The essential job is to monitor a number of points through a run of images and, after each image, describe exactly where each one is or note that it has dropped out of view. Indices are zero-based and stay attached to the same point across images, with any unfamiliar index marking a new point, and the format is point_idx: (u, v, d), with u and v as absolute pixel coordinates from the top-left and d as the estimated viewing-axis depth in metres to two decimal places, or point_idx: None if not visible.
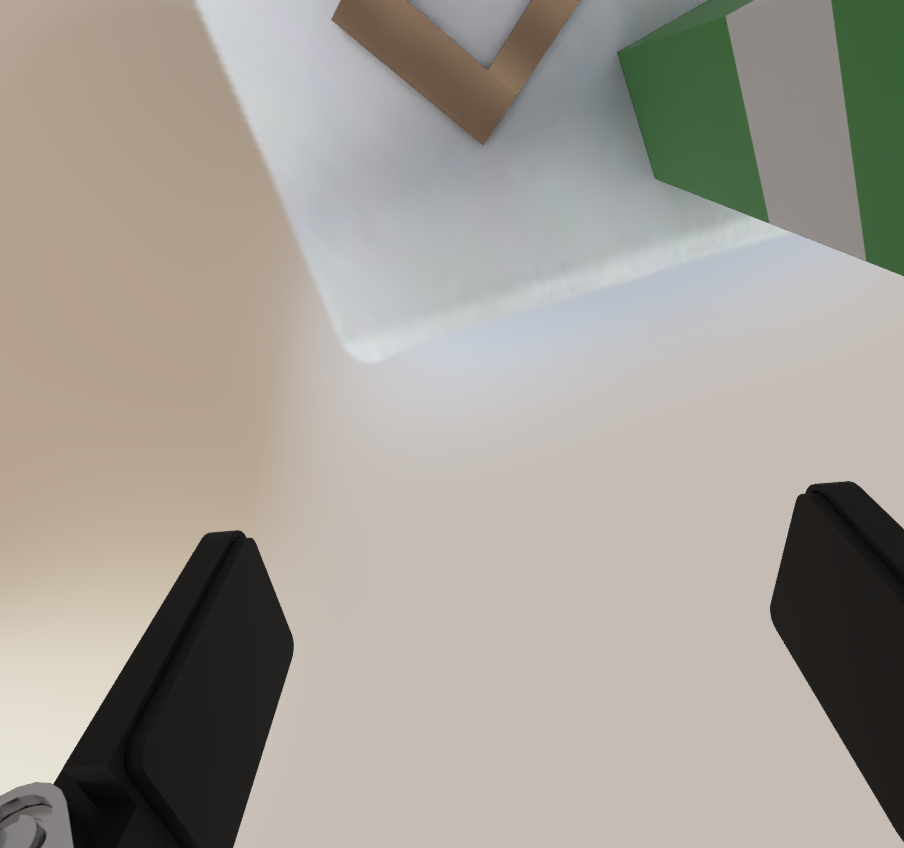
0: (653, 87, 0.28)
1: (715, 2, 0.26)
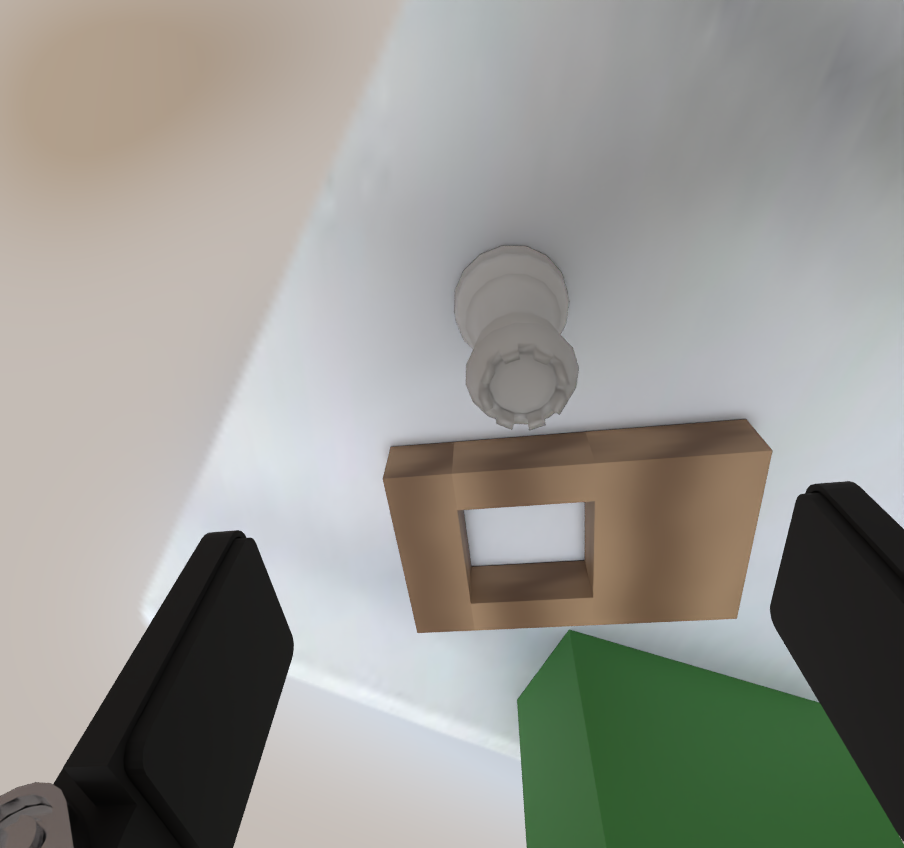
0: (565, 733, 0.29)
1: (646, 731, 0.28)
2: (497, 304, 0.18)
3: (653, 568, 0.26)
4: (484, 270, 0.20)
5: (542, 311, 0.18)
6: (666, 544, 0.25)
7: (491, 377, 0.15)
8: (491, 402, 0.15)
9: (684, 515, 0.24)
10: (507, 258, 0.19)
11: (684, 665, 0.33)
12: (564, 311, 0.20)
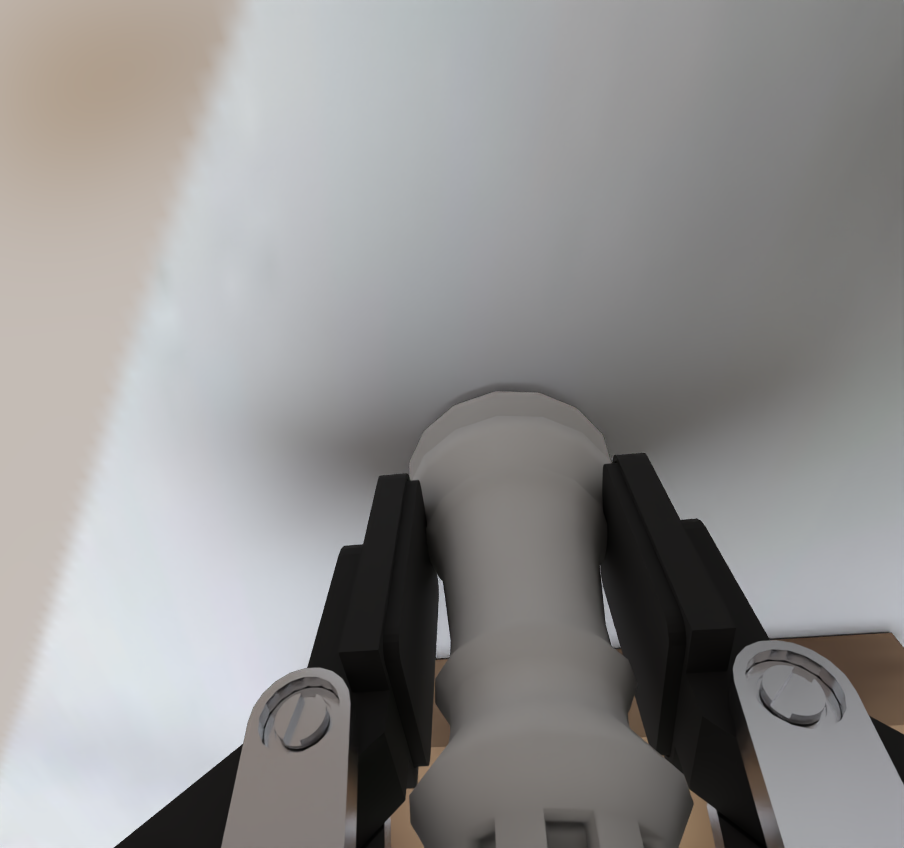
0: None
1: None
2: (485, 554, 0.09)
3: None
4: (460, 451, 0.10)
5: (581, 571, 0.08)
6: None
7: None
8: None
9: None
10: (504, 429, 0.10)
11: None
12: None
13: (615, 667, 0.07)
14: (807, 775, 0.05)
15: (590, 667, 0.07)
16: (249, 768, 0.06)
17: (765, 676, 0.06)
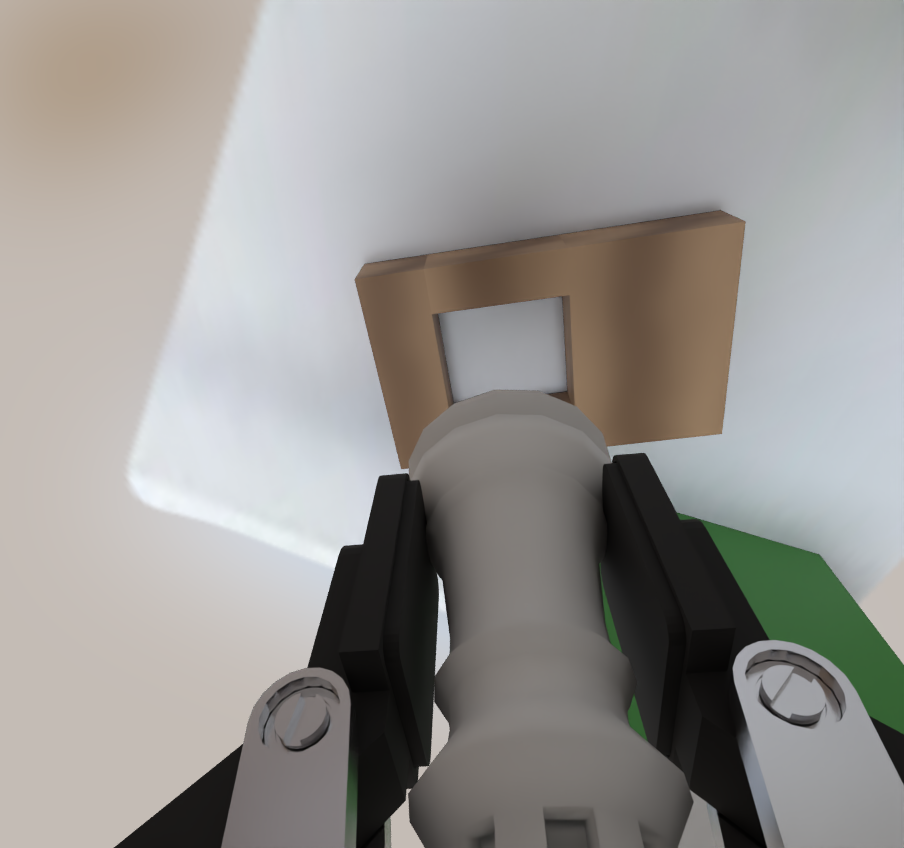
0: None
1: None
2: (484, 552, 0.09)
3: (633, 375, 0.25)
4: (460, 449, 0.10)
5: (582, 570, 0.08)
6: (645, 344, 0.25)
7: None
8: None
9: (661, 307, 0.24)
10: (504, 427, 0.10)
11: None
12: None
13: (615, 665, 0.07)
14: (807, 775, 0.05)
15: (590, 665, 0.07)
16: (249, 768, 0.06)
17: (765, 676, 0.06)
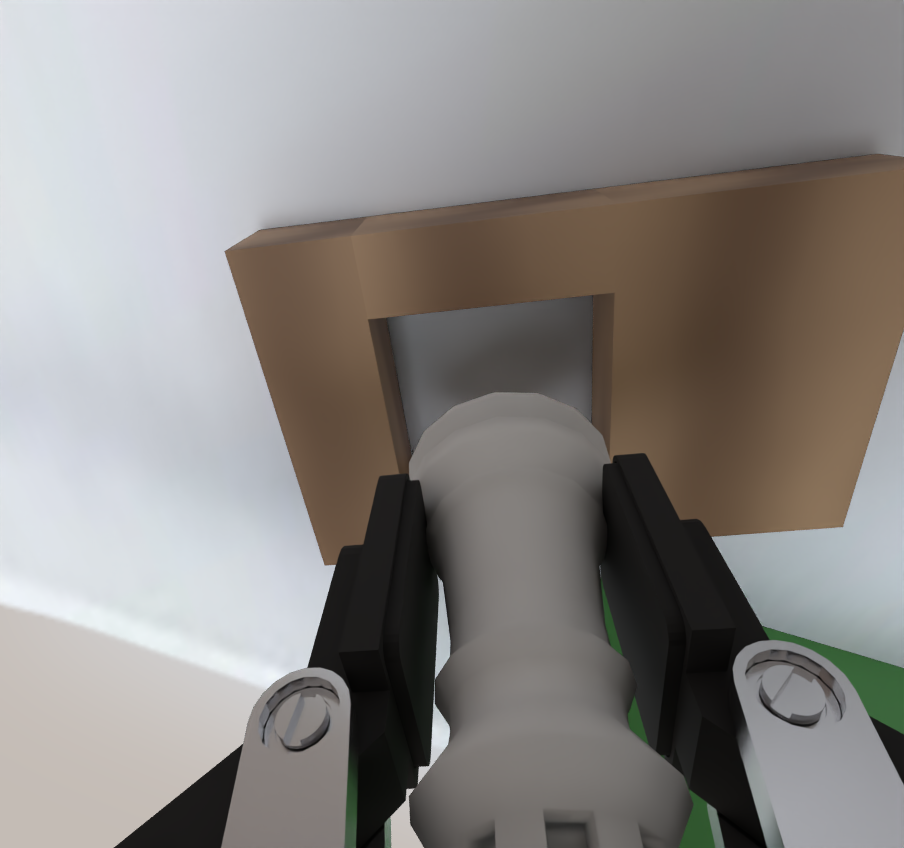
0: None
1: None
2: (485, 554, 0.09)
3: (711, 433, 0.15)
4: (460, 451, 0.10)
5: (581, 572, 0.08)
6: (737, 383, 0.14)
7: None
8: None
9: (774, 319, 0.13)
10: (504, 430, 0.10)
11: None
12: None
13: (615, 668, 0.07)
14: (807, 775, 0.05)
15: (590, 668, 0.07)
16: (249, 768, 0.06)
17: (765, 676, 0.06)
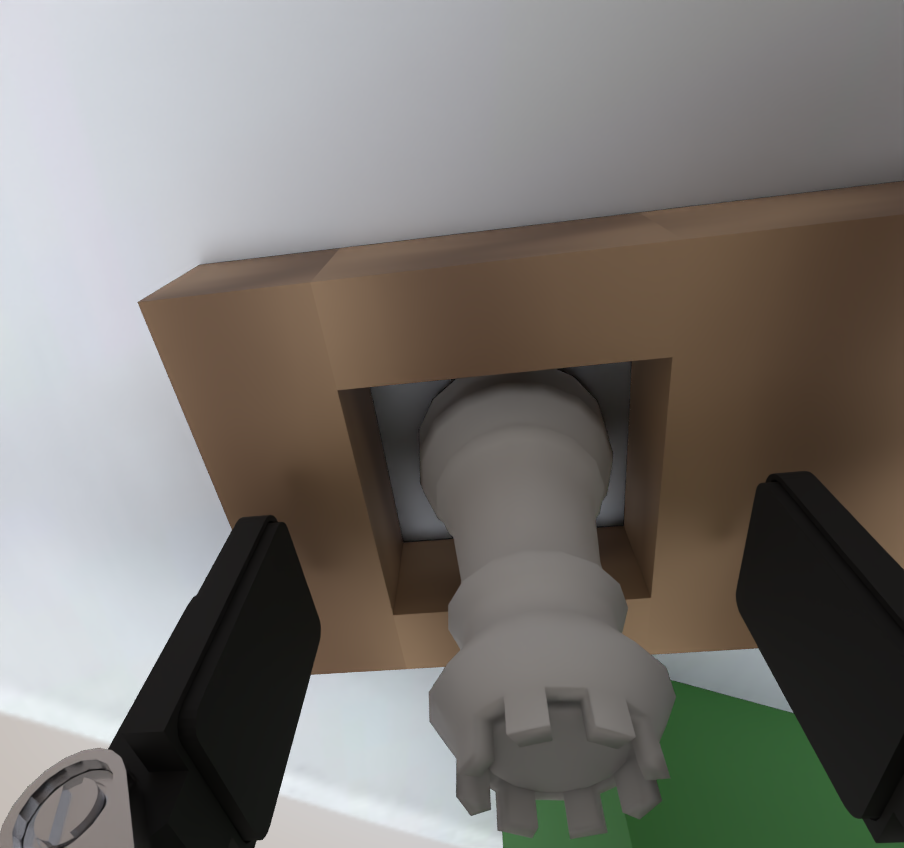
0: None
1: None
2: (491, 499, 0.09)
3: None
4: (467, 414, 0.11)
5: (578, 514, 0.09)
6: (829, 470, 0.11)
7: (485, 765, 0.06)
8: (486, 800, 0.07)
9: (888, 391, 0.10)
10: (507, 393, 0.11)
11: (791, 716, 0.19)
12: (607, 475, 0.12)
13: (608, 589, 0.08)
14: None
15: (585, 586, 0.08)
16: None
17: None
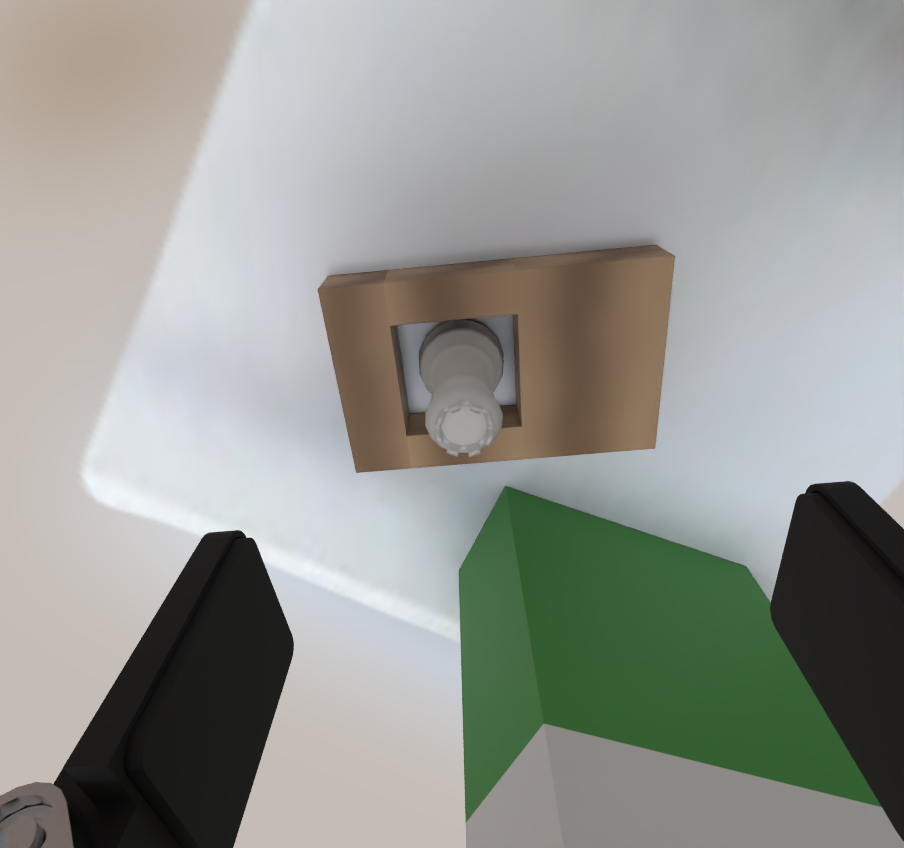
0: (498, 567, 0.30)
1: (574, 561, 0.29)
2: (448, 366, 0.25)
3: (575, 391, 0.27)
4: (440, 339, 0.27)
5: (480, 371, 0.25)
6: (586, 363, 0.27)
7: (442, 422, 0.22)
8: (442, 438, 0.22)
9: (600, 329, 0.26)
10: (456, 331, 0.27)
11: (615, 524, 0.35)
12: (499, 368, 0.27)
13: (486, 388, 0.24)
14: None
15: (477, 385, 0.24)
16: None
17: None
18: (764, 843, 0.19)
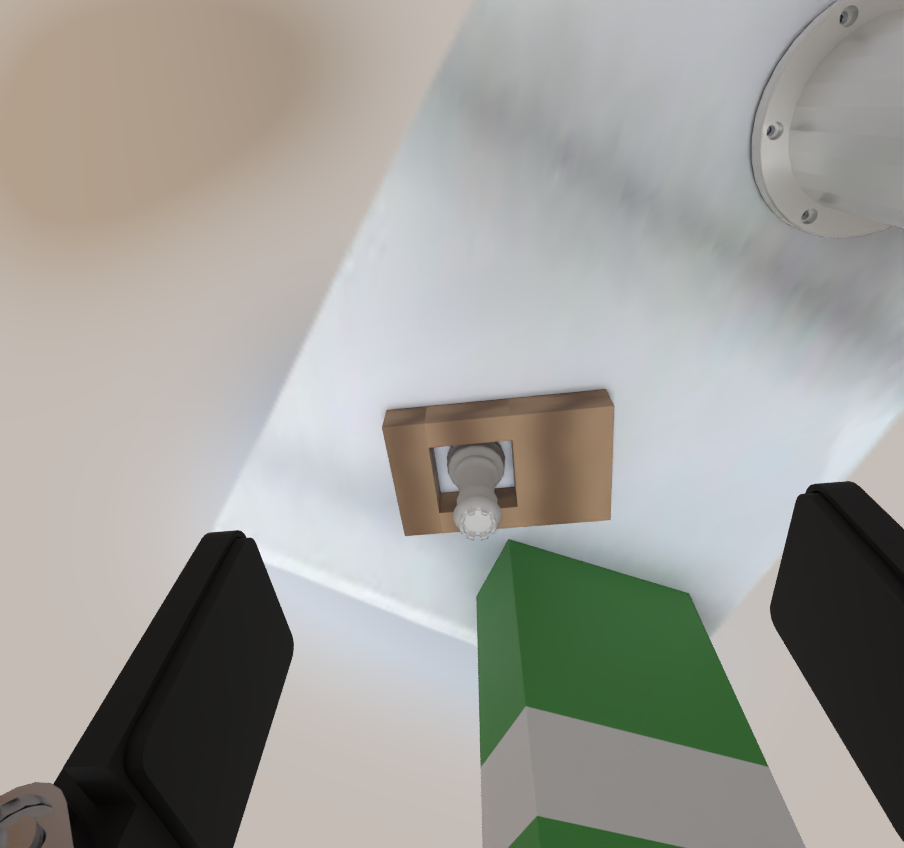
0: (502, 600, 0.43)
1: (555, 596, 0.43)
2: (467, 475, 0.39)
3: (553, 485, 0.41)
4: (461, 452, 0.40)
5: (488, 479, 0.38)
6: (559, 468, 0.40)
7: (463, 520, 0.35)
8: (464, 529, 0.36)
9: (568, 448, 0.39)
10: (472, 447, 0.40)
11: (589, 564, 0.48)
12: (502, 469, 0.41)
13: (491, 493, 0.37)
14: None
15: (486, 492, 0.37)
16: None
17: None
18: (656, 777, 0.33)
